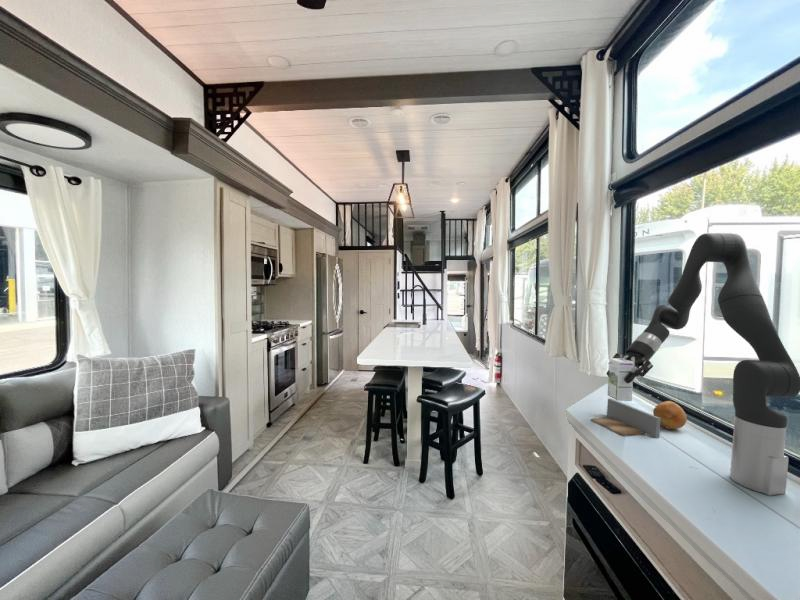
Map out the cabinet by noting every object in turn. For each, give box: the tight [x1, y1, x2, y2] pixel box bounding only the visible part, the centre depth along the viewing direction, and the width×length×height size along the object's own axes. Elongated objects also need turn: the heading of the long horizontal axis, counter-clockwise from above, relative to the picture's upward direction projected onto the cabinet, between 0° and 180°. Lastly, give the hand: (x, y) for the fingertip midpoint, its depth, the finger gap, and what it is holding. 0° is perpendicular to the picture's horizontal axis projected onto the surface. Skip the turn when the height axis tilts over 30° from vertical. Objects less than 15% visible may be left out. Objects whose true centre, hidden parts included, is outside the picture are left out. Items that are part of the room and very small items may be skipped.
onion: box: [652, 400, 688, 430], centre depth 123 cm, size 10×10×10 cm
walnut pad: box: [590, 416, 647, 437], centre depth 122 cm, size 14×10×1 cm
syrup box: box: [607, 357, 634, 402], centre depth 121 cm, size 6×6×14 cm
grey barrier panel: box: [606, 398, 661, 439], centre depth 123 cm, size 20×2×7 cm, turn 14°
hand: (617, 378), depth 121 cm, fingers closed on syrup box, 6 cm apart
